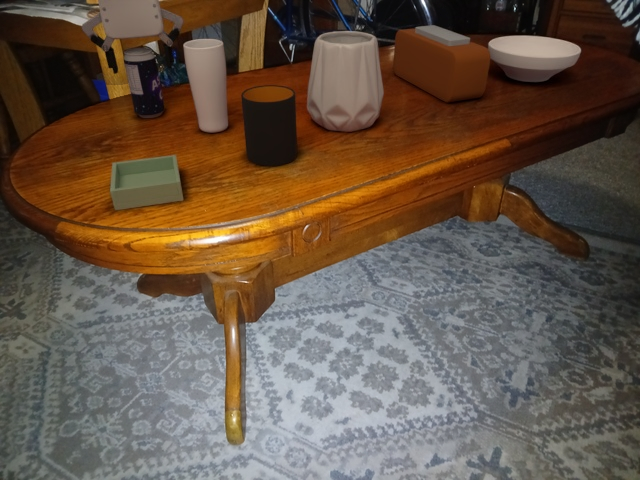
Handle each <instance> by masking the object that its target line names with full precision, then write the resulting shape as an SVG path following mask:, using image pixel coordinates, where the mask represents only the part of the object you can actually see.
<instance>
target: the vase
mask: <svg viewBox="0 0 640 480" xmlns="http://www.w3.org/2000/svg"><path fill="white" fill-rule="evenodd" d="M379 51H380V50H379V43H378V39H377V37H376V36H375V35H374V34H371V33H368V32H362V31H355V30H342V31H341V30H340V31H337V30H336V31H335V30H334V31H329V32H325V33H322V34H320V35H319V36H317V38H316V39H315V41H314V45H313V51H312V56H311V57H312V59H311V64H310V72H309V77H308V83H307V91H306V92H307V94H306V96H307V97H306V109H307V112H308V114H309V115H310V118H311V119H312V120H313V122H315V124H317V125H319V126H321V127H322V128H324V129H325V130H327V131H333V132H344V133H345V132H346V133H352V132H357V131H360V130H364V129H368V128H370V127H372V125H374V123H375V122H376V120H377V119H379V117H380V113H381V107H382V104H383V100H384V95H385V90H384V85H383V83H384V82H383V76H382V70H381V61H380V52H379Z"/></svg>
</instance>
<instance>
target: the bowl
mask: <svg viewBox="0 0 640 480" xmlns="http://www.w3.org/2000/svg"><path fill="white" fill-rule="evenodd" d="M487 49H488V50H489V52H490V56H491V57H490V60H492V61H493V62H494V63H495V64H496V65H497V66H498V67H499V68H500V69H501V70H502V71H503V72H504V74H505V76H506V77H507V78H510V79H512V80H514V81H515V80H516V81H520V82H529V83H540V82H545V81H548V80H550V78H551V77H553V76H554V75H556V74H559V73H560V72H563V71H565V70H566V69H567V68H570V67H572V66H574V65H576V64H577V62H578V60H579V58H580V56H581V53H582V48H581V47H580V46H579V45H577V44H576V43H574V42H570V41H568V40H563V39H559V38H554V37H547V36H540V35H506V36H500V37H495V38H493V39H491V40H490V41H489V42H488V43H487Z"/></svg>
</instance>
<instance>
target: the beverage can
mask: <svg viewBox="0 0 640 480" xmlns="http://www.w3.org/2000/svg"><path fill="white" fill-rule="evenodd" d="M123 53H124V56H123V63H124V69H125V73H126V78H127V82H128V87H129V92H130V97H131V101H132V106H133V110H134V113H135V114H136V115H138V116H139V117H140V118H143V119H155V118H157V117H160V116H161V115H162V114H163V112H164V111H165V109H166V108H165V101H164V96H163V91H162V86H161V80H160V79H161V78H160V73H159V68H158V63H157V57H156V55H155V54H154V52H153V49H152V48H150V47H134V48H130V49H126V50H125V51H124V52H123Z"/></svg>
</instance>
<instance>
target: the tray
mask: <svg viewBox="0 0 640 480" xmlns="http://www.w3.org/2000/svg"><path fill="white" fill-rule="evenodd" d="M177 157H178V156H177V155H176V154H172V155H164V156H156V157H147V158H140V159H139V158H138V159H131V160H123V161H116V162H111V163H112V164H111V174H110V175H111V176H110V188H109V193H110V197H111V200H112V204H113V208H114V211H121V210H127V209H135V208H142V207H149V206H156V205H162V204H163V205H164V204H169V203H177V202H183V201H184V193H183V188H182V181H181V176H180V169H179V164H178V158H177Z"/></svg>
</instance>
